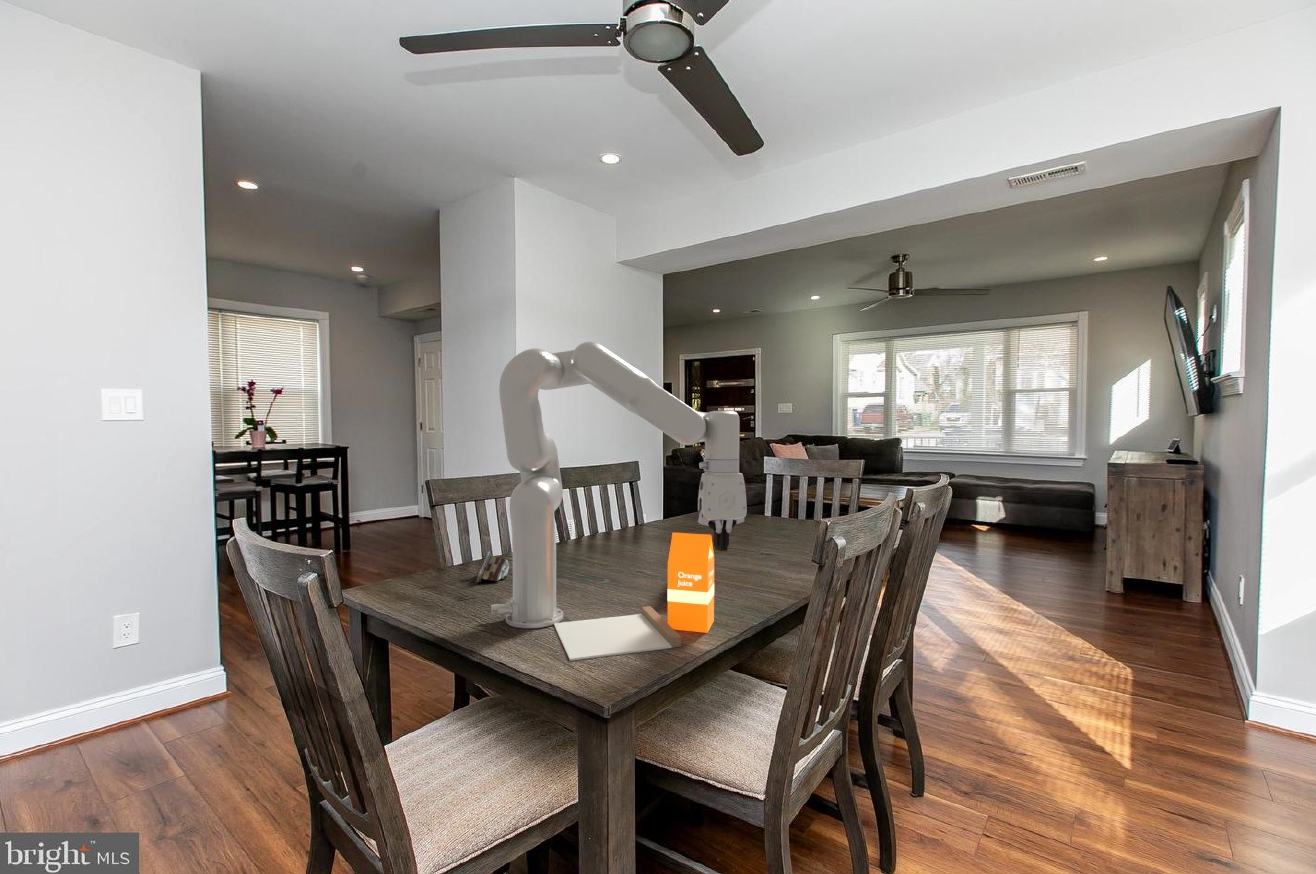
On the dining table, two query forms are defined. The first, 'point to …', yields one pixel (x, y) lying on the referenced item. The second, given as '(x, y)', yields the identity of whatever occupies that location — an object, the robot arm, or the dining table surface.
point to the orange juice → (691, 582)
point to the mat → (617, 635)
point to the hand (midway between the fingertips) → (721, 549)
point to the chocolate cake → (493, 568)
